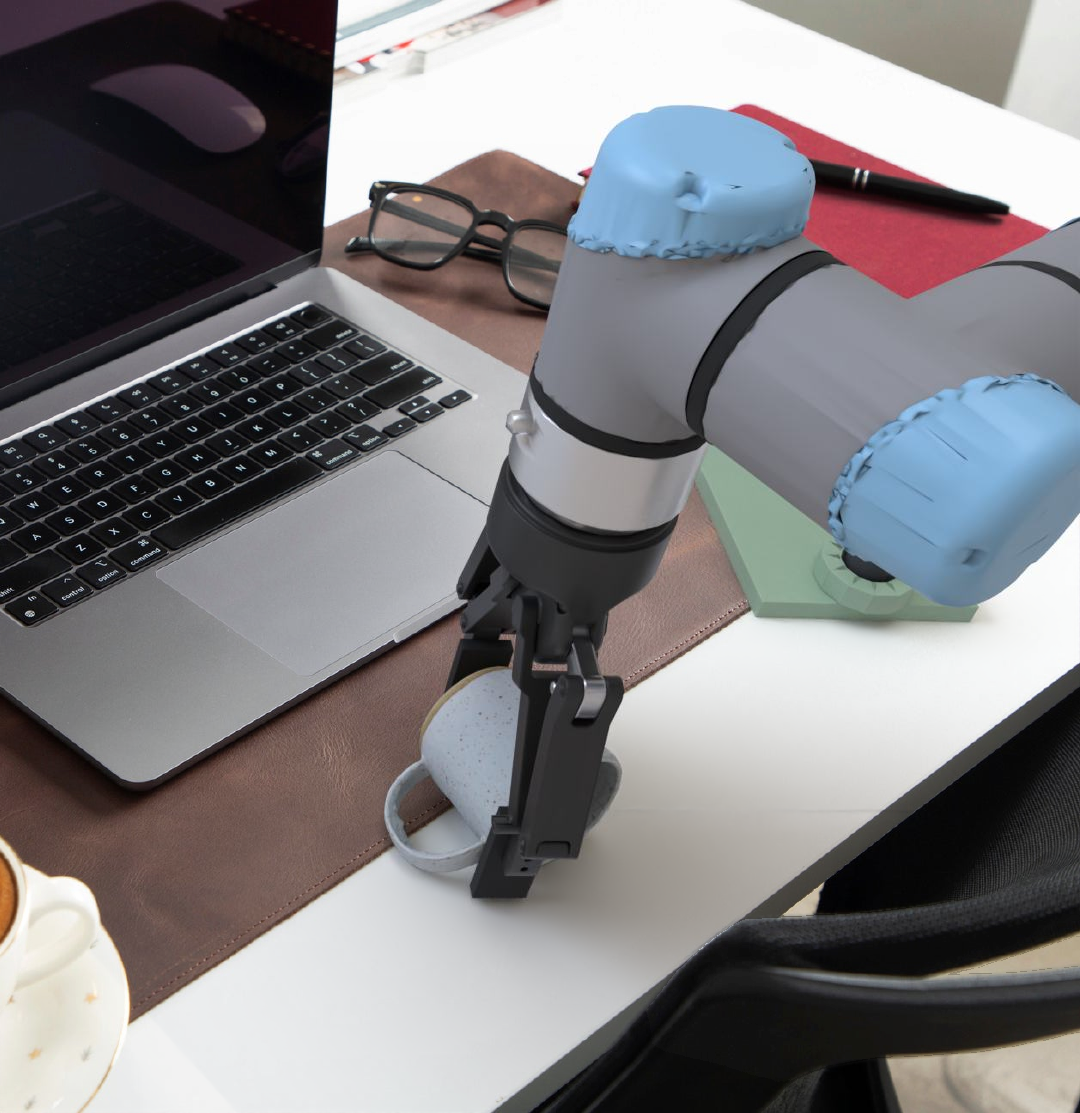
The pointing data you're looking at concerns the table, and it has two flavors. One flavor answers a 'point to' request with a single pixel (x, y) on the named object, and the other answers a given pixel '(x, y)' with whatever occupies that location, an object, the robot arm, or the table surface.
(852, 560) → the button
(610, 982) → the table surface
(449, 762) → the ceramic mug
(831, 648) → the table surface
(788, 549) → the scale
